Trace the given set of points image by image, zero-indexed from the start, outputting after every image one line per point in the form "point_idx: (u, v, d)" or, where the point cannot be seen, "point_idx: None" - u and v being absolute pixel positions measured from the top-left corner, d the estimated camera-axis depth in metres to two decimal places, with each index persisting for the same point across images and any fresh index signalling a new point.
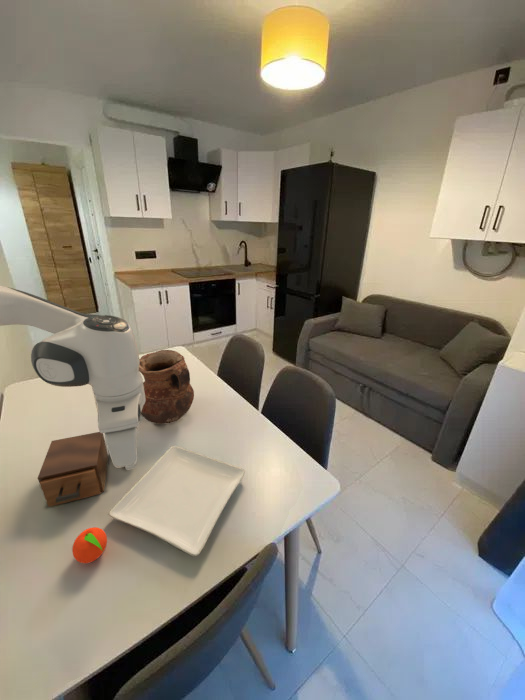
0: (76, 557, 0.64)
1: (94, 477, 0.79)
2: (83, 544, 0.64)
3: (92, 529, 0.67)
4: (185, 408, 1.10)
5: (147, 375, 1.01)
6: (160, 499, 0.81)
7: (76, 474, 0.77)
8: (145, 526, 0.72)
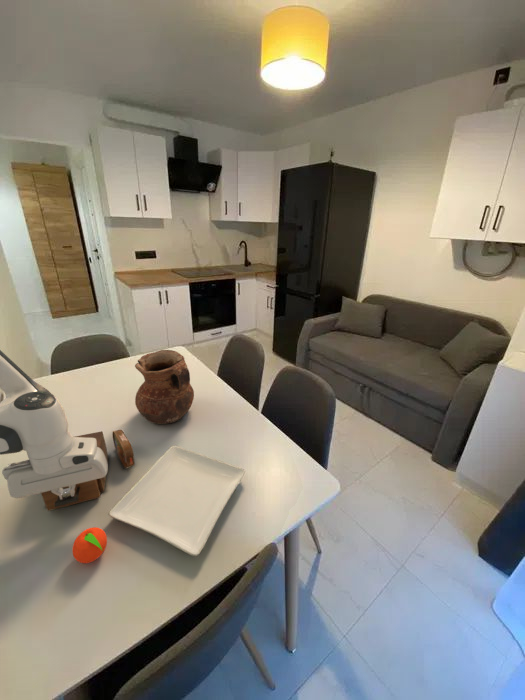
0: (76, 557, 0.64)
1: (93, 480, 0.78)
2: (83, 544, 0.64)
3: (92, 529, 0.67)
4: (185, 408, 1.10)
5: (147, 375, 1.01)
6: (160, 499, 0.81)
7: None
8: (145, 526, 0.72)
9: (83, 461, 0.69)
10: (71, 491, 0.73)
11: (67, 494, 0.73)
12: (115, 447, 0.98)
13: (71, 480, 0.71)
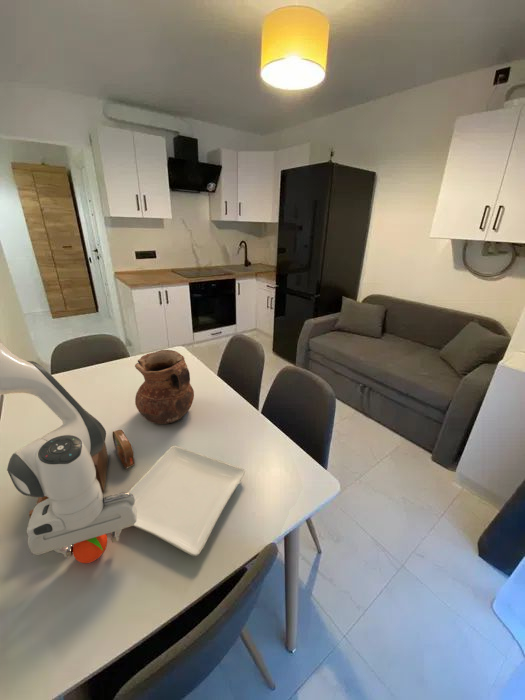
0: (76, 557, 0.64)
1: None
2: (83, 544, 0.64)
3: None
4: (185, 408, 1.10)
5: (147, 375, 1.01)
6: (160, 499, 0.81)
7: None
8: (145, 526, 0.72)
9: None
10: None
11: None
12: (115, 447, 0.98)
13: None
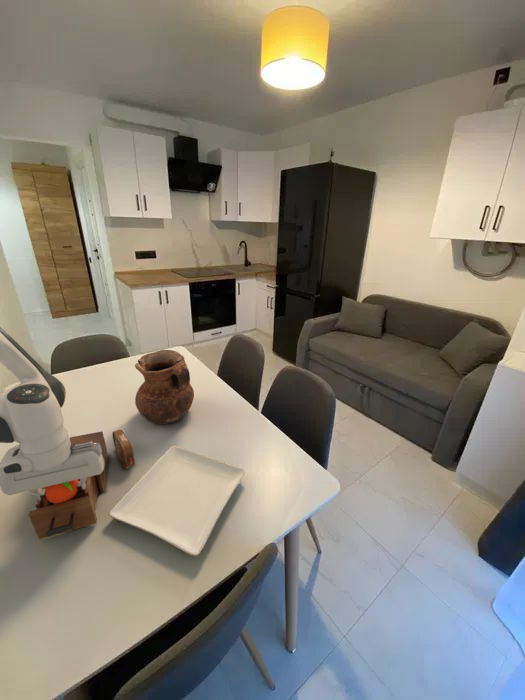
0: (48, 497, 0.69)
1: (89, 506, 0.71)
2: (54, 486, 0.69)
3: None
4: (185, 408, 1.10)
5: (147, 375, 1.01)
6: (160, 499, 0.81)
7: (69, 503, 0.69)
8: (145, 526, 0.72)
9: None
10: None
11: None
12: (115, 447, 0.98)
13: None
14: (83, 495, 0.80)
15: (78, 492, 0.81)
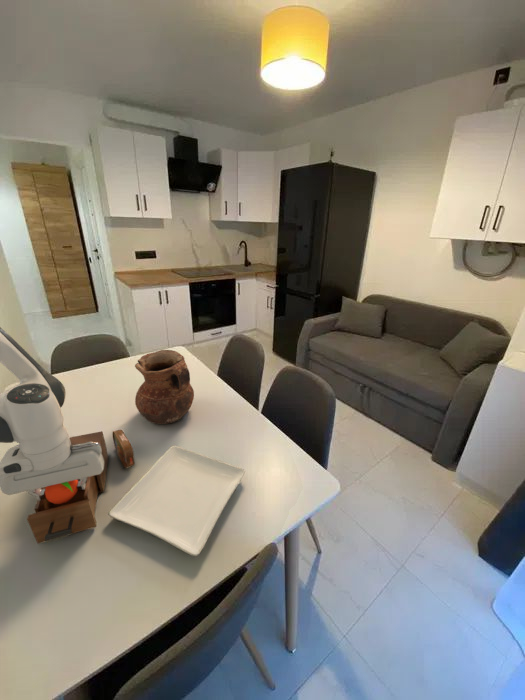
0: (48, 497, 0.69)
1: (89, 509, 0.71)
2: (54, 486, 0.69)
3: None
4: (185, 408, 1.10)
5: (147, 375, 1.01)
6: (160, 499, 0.81)
7: (68, 507, 0.69)
8: (145, 526, 0.72)
9: None
10: None
11: None
12: (115, 447, 0.98)
13: None
14: (82, 498, 0.79)
15: (77, 495, 0.80)
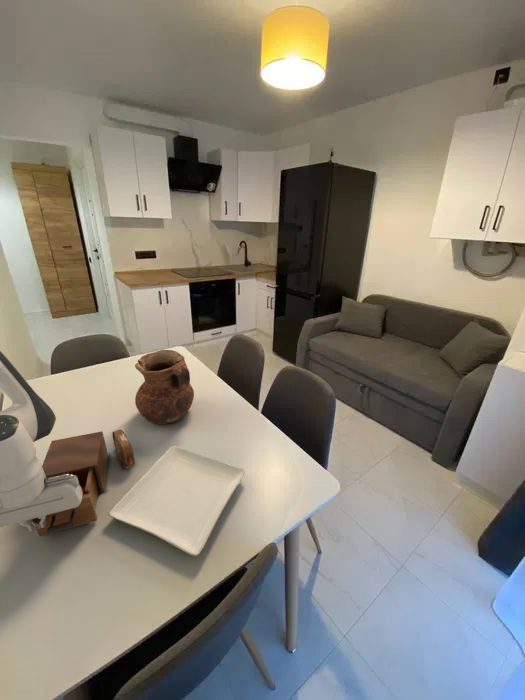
0: None
1: (90, 503, 0.72)
2: None
3: None
4: (185, 408, 1.10)
5: (147, 375, 1.01)
6: (160, 499, 0.81)
7: None
8: (145, 526, 0.72)
9: None
10: None
11: None
12: (115, 447, 0.98)
13: None
14: None
15: None
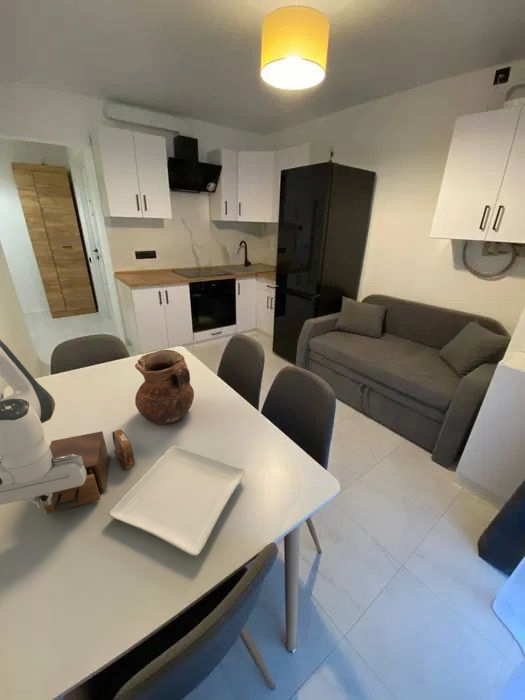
0: None
1: (93, 483, 0.77)
2: None
3: None
4: (185, 408, 1.10)
5: (147, 375, 1.01)
6: (160, 499, 0.81)
7: None
8: (145, 526, 0.72)
9: None
10: None
11: None
12: (115, 447, 0.98)
13: None
14: (87, 475, 0.86)
15: None
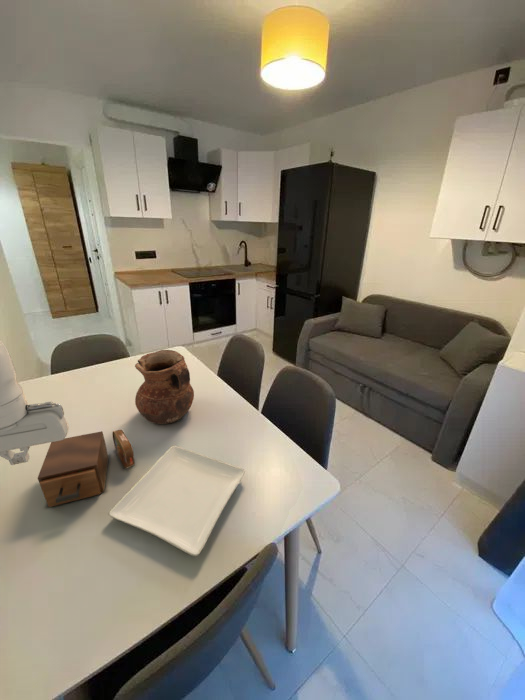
0: None
1: (94, 477, 0.79)
2: None
3: None
4: (185, 408, 1.10)
5: (147, 375, 1.01)
6: (160, 499, 0.81)
7: (76, 474, 0.77)
8: (145, 526, 0.72)
9: None
10: None
11: None
12: (115, 447, 0.98)
13: None
14: None
15: None
